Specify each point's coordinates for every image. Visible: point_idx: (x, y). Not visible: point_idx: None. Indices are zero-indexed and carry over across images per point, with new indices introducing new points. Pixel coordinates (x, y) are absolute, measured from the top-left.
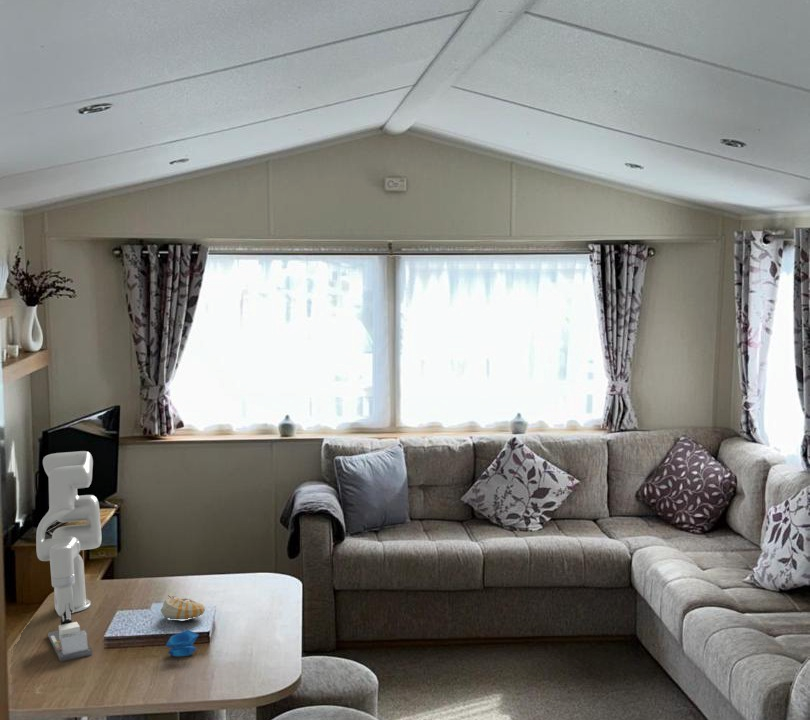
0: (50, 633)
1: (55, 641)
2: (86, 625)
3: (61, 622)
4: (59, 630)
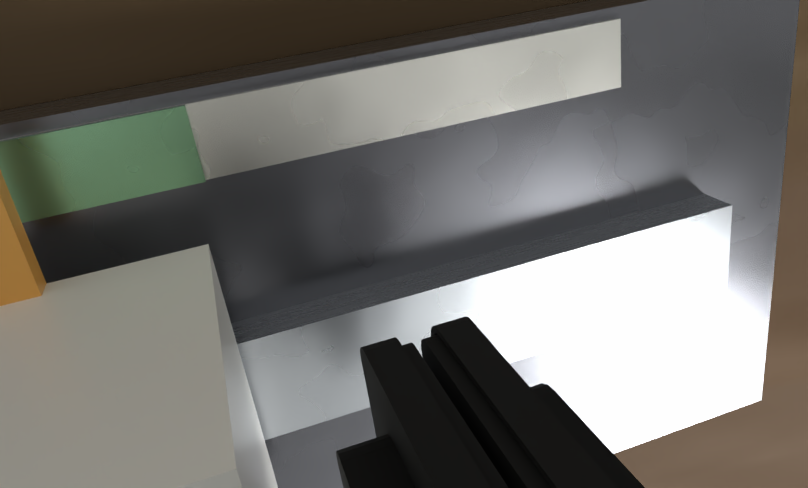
0: (746, 18)
1: (312, 125)
2: (794, 439)
3: (542, 476)
4: (84, 418)
